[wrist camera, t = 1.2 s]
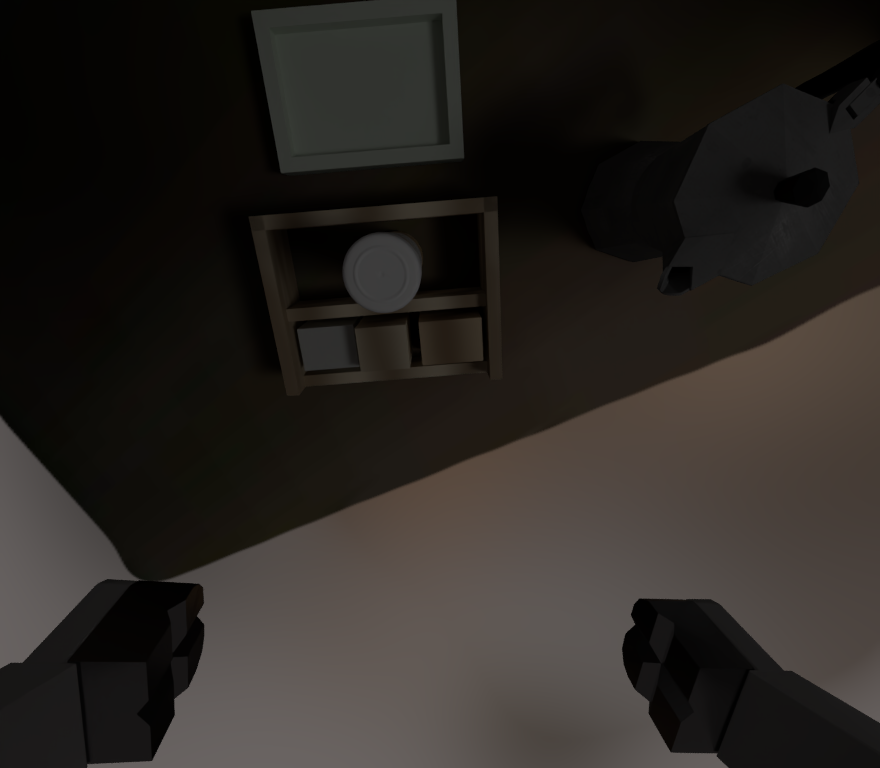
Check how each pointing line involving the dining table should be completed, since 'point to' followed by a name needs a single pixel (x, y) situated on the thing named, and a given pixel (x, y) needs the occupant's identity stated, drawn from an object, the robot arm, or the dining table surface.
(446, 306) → the rack
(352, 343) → the offcut grey
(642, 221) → the coffeepot
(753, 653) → the robot arm
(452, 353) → the offcut oak
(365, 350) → the offcut pine
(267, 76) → the tray
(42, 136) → the dining table surface
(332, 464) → the dining table surface
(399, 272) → the sprinkles bottle
